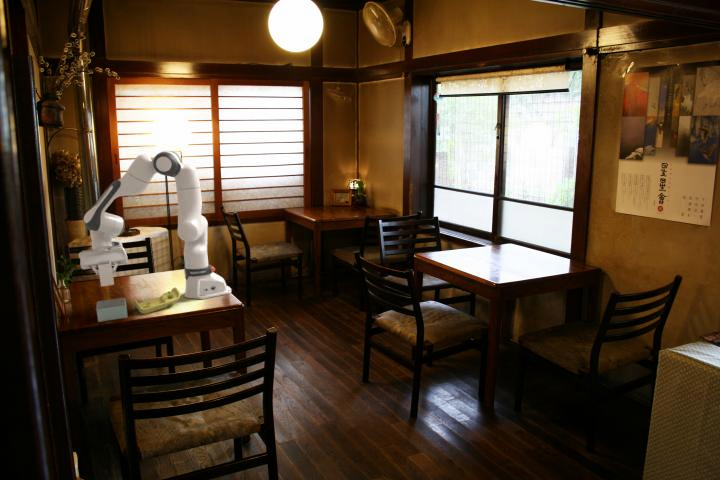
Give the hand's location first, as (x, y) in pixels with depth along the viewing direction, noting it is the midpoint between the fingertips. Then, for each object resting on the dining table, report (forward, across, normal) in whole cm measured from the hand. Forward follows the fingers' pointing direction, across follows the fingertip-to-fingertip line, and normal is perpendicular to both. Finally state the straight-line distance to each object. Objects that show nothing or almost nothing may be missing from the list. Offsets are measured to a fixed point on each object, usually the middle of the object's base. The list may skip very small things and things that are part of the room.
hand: (105, 273), depth 273 cm
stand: (+21, 0, +3) cm, 21 cm away
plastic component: (+20, +20, +5) cm, 29 cm away
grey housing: (+3, 0, +4) cm, 5 cm away
